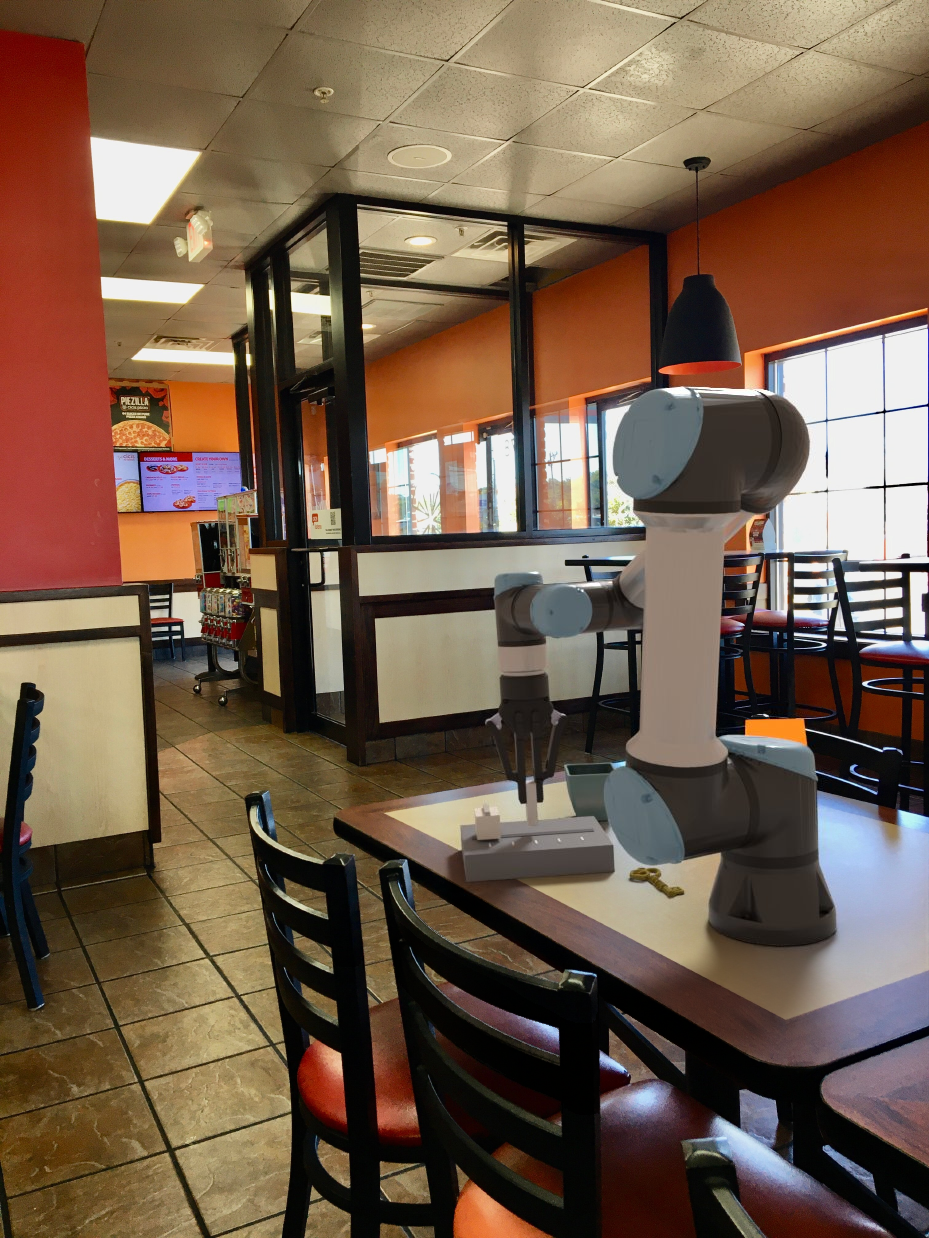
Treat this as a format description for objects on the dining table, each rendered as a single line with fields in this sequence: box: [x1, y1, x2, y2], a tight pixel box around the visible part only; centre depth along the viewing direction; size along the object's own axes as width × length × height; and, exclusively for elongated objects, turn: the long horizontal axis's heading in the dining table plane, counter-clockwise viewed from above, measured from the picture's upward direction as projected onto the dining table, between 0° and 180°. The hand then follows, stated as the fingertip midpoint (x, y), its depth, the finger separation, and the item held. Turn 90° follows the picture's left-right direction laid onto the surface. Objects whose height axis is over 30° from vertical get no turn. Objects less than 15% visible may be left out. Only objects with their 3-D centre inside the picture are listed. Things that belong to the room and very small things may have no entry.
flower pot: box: [563, 762, 616, 822], centre depth 170 cm, size 9×9×9 cm
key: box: [629, 867, 685, 898], centre depth 136 cm, size 12×1×5 cm
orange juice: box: [744, 718, 808, 747], centre depth 148 cm, size 8×9×20 cm
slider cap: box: [473, 803, 501, 840], centre depth 148 cm, size 5×4×4 cm
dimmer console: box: [459, 816, 616, 883], centre depth 149 cm, size 16×22×4 cm
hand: (532, 823), depth 148 cm, fingers closed
